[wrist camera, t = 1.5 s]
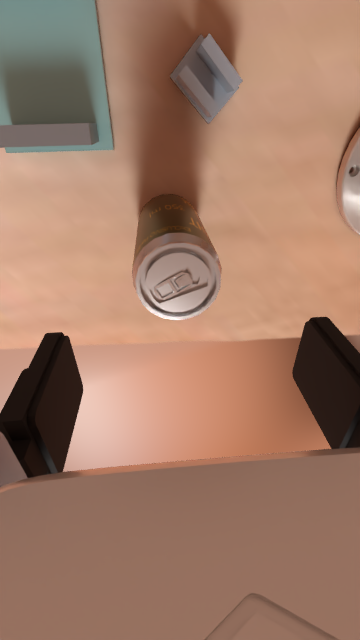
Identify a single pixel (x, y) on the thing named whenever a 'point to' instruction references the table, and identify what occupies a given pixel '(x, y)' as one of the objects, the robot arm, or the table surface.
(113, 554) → the robot arm
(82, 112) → the end holder
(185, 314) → the beer can
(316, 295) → the table surface
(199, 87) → the clip
